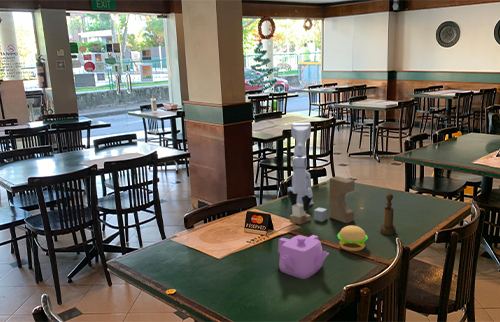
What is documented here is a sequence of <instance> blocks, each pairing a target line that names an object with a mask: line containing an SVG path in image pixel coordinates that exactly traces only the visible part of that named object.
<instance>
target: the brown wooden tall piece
mask: <svg viewBox="0 0 500 322" xmlns="http://www.w3.org/2000/svg"><path fill="white" fill-rule="evenodd" d="M385 199H386V203H385V204H386V207H384V208H383V224H382V225H380V227H379V231H380V234H382V235H385V236H386V235H387V236H393V235H395V234H396V233H397V228H396V226H395V225H394V210H395V209H394V207H392V204H393V203H392V200H393V199H394V195H393V193H391V192H389V193H386V195H385Z"/></svg>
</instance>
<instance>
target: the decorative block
mask: <svg viewBox="0 0 500 322" xmlns="http://www.w3.org/2000/svg"><path fill="white" fill-rule="evenodd" d="M355 185H356V184H355V180H354V179H348V178H345V177H341V176H333V177H331V178H329V196H328V197H329V201H328V203H329V204H328V205H329V211H328V212H329V213H328V215H329V218H330V219H333V220H335V221H338V222H341V223H344V224H349V223H351V222H354V220H355V219H354V214H355V211H354V210H352V209H350V208H349V207H348V205H347V203H346V195H347V193H350V192H354V191H355Z"/></svg>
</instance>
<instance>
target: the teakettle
mask: <svg viewBox="0 0 500 322" xmlns="http://www.w3.org/2000/svg"><path fill="white" fill-rule="evenodd" d="M277 253H278V254H279V259H278V260H279V262H278V263H279V265H278V266H279V270H280V272H282V273H284V274H287V275H289V276H291V277H295V278H298V279H300V280H306V279H308V278H310V277H312V276H314V275H315V274H316V273H317V272H318V271H319V270H321V268H322V266H323V264H324V261H325V259H326V258H327V257H328V256H329V254H330V252H327V251H326V250H323V247H322V242H321V241H320V240H319V236H318V235H315V234H312V235H309V236H304V235H301V234H298V235H295V236H293V237H292V238H285V237H281V238H279V239H278V247H277Z"/></svg>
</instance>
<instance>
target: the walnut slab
mask: <svg viewBox="0 0 500 322" xmlns="http://www.w3.org/2000/svg"><path fill="white" fill-rule="evenodd" d="M311 220H312V219H311V215H310V214H308V213H306V215H305V216H302V217H300V218H299V217H296V216H293V215H292V214H290V215H289V221H291V222H293V221H294V222H293V223H295V224H298V225H301V224H305V223H308V222H310V221H311Z"/></svg>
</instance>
